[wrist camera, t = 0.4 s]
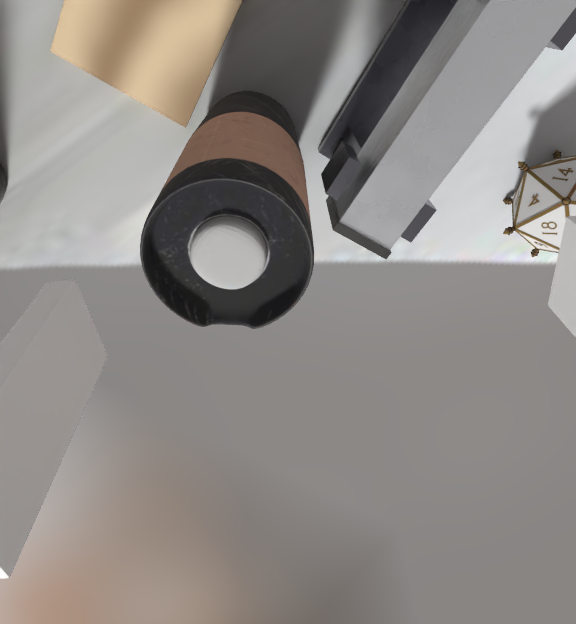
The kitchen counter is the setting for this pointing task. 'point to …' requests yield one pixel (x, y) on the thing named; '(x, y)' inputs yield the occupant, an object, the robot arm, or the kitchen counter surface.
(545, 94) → the kitchen counter surface
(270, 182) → the travel mug
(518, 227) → the game die
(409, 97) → the rail
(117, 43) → the board
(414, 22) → the stand
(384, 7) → the kitchen counter surface
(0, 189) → the battery
